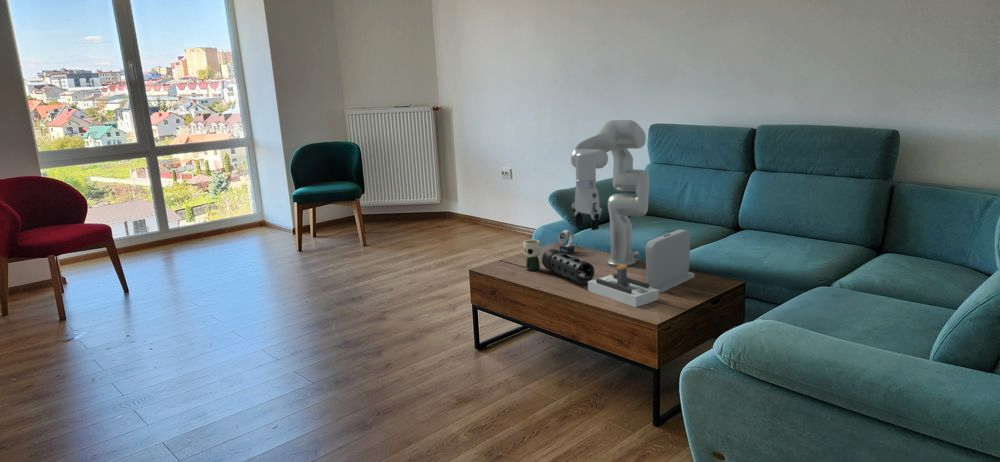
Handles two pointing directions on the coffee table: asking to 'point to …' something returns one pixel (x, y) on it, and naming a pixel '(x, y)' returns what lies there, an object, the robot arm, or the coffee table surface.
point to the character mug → (532, 253)
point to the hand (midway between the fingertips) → (586, 227)
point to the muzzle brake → (568, 266)
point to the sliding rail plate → (621, 288)
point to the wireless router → (668, 260)
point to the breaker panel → (633, 299)
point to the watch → (562, 238)
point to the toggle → (622, 275)
